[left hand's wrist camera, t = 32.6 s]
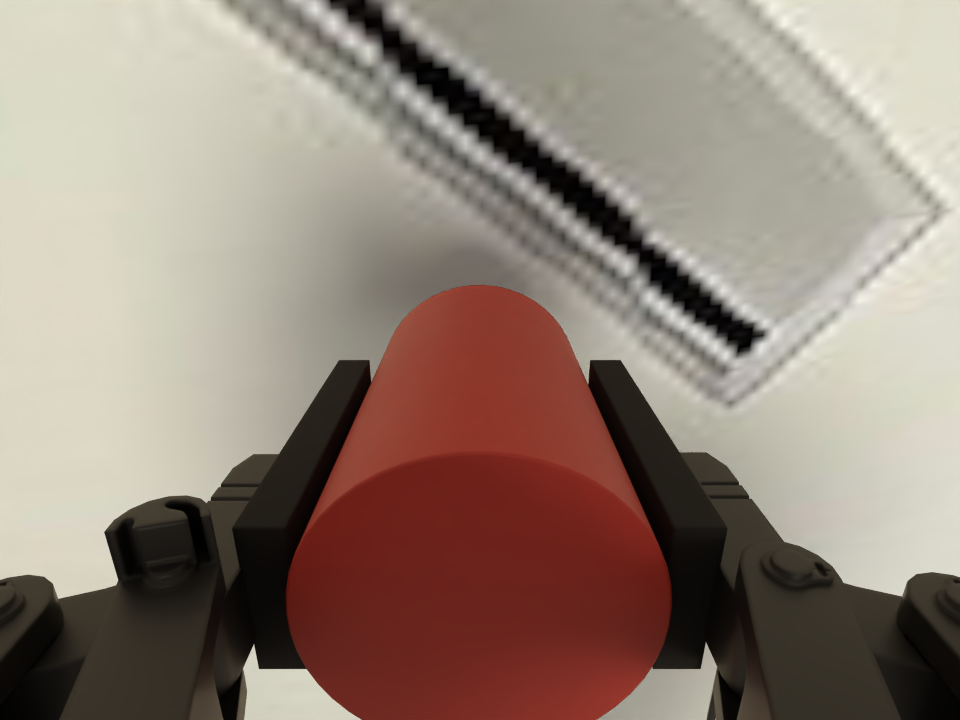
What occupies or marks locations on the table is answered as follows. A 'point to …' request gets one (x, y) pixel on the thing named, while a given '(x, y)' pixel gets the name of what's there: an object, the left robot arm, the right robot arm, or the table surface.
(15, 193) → the table surface
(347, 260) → the table surface
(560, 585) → the canister
